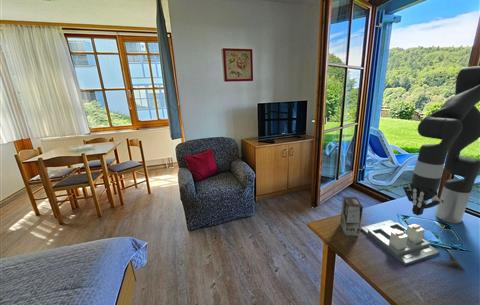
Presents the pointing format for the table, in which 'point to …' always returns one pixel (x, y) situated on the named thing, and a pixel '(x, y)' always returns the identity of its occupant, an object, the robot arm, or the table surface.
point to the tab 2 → (415, 233)
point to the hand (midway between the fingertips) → (416, 214)
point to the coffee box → (351, 216)
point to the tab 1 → (398, 239)
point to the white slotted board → (406, 255)
